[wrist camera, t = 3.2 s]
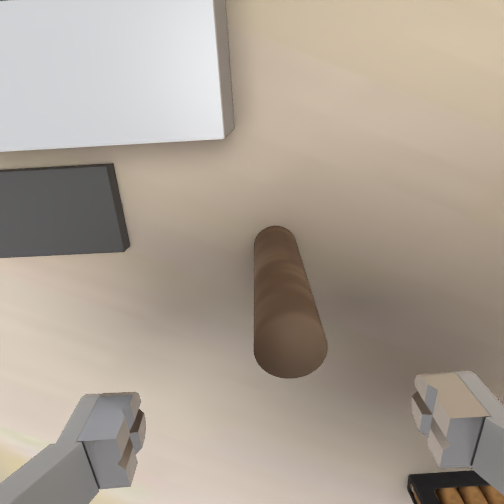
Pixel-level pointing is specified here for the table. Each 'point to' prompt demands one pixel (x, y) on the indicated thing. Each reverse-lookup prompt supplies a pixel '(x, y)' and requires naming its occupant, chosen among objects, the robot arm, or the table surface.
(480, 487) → the ammunition clip
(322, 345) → the brown rounded rod
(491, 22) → the table surface
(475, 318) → the table surface
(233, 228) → the table surface
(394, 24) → the table surface
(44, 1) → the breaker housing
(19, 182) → the rubber pad
